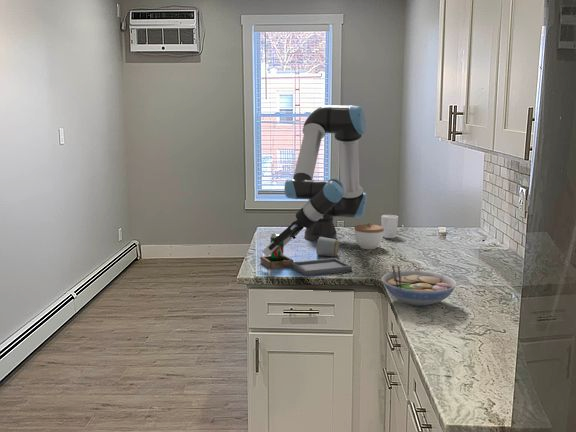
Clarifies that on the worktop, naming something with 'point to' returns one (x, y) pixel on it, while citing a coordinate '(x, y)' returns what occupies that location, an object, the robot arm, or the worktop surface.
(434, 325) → the worktop surface
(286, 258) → the walnut collar
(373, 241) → the lidded bowl
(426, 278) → the ramen bowl
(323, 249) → the ceramic mug
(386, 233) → the white cup
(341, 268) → the grey tray
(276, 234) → the soda can
